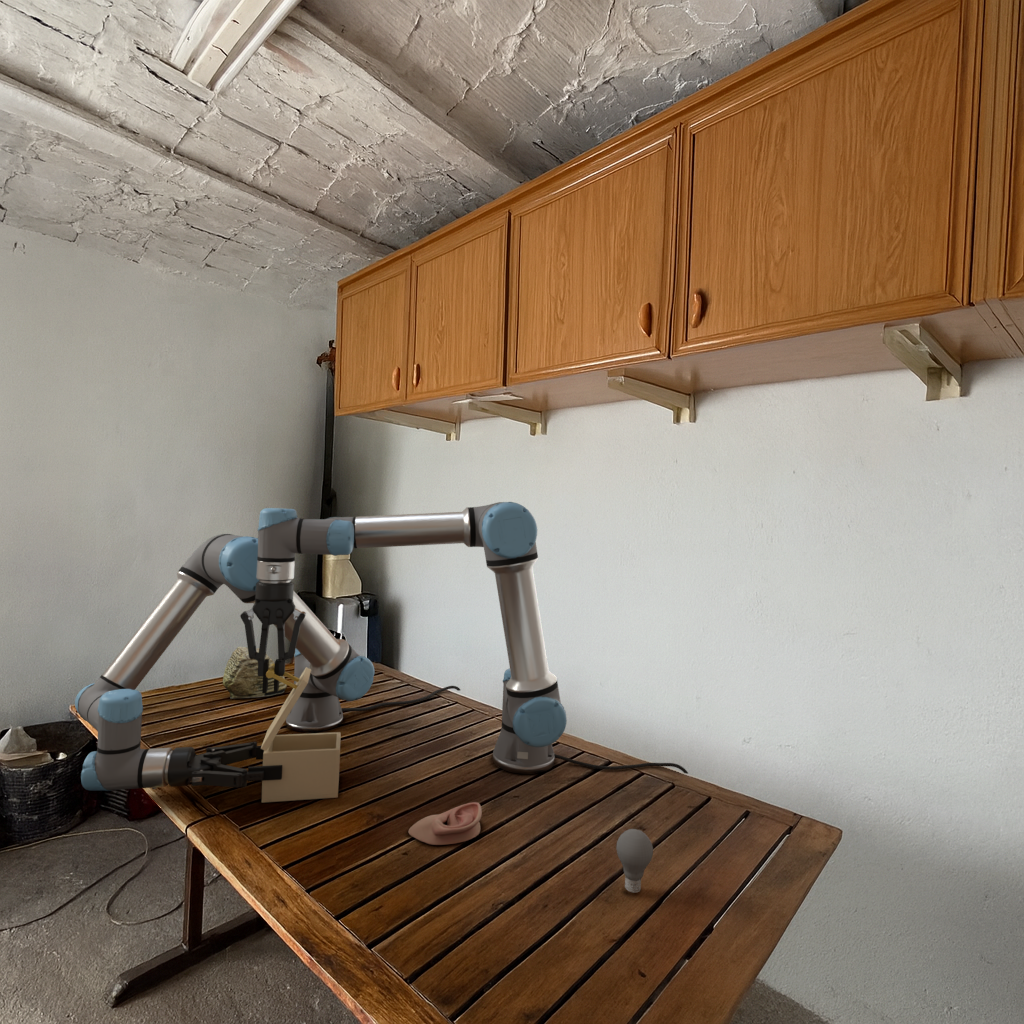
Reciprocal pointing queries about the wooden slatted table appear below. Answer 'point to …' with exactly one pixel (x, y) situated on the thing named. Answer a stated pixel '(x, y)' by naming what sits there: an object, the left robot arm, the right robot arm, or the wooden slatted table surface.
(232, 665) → the fossil
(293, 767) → the chest
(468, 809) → the anatomical model
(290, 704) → the lid
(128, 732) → the left robot arm
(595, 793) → the wooden slatted table surface
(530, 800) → the wooden slatted table surface
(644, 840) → the light bulb
